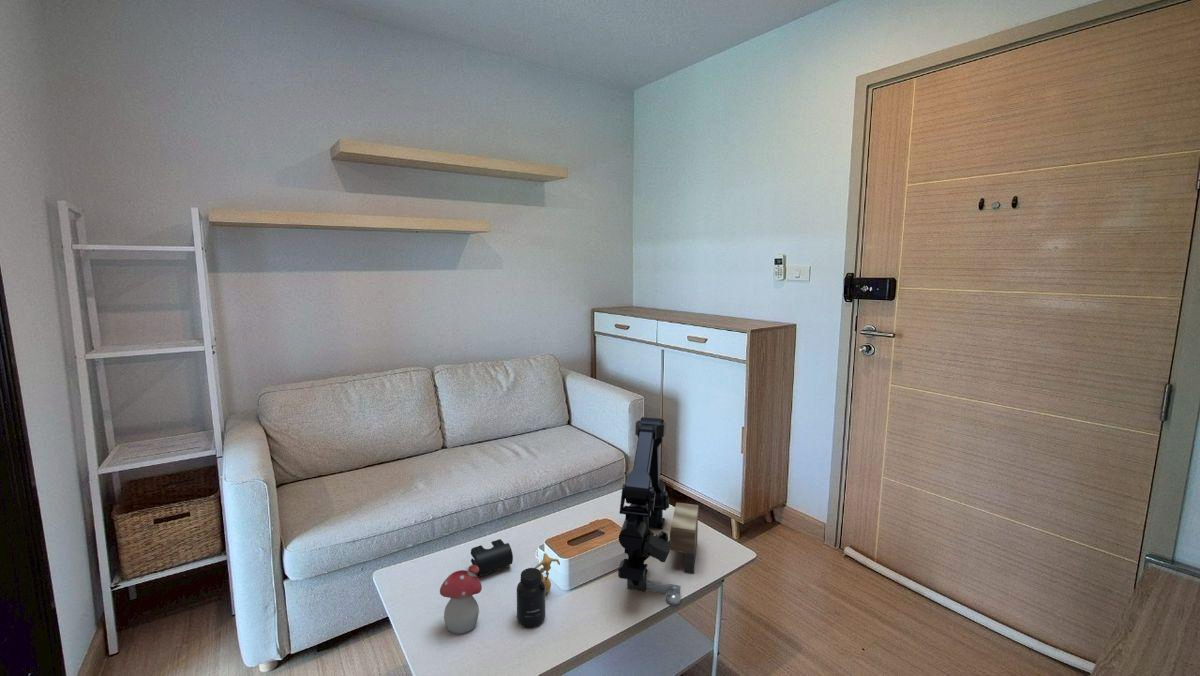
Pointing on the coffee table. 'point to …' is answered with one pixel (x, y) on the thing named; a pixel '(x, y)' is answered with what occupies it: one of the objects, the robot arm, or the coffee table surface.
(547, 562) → the figurine
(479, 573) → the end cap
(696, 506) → the bronze curved block
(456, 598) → the decorative ornament
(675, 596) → the grey metal dome
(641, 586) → the blade tool
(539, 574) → the supplement bottle
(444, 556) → the coffee table surface
